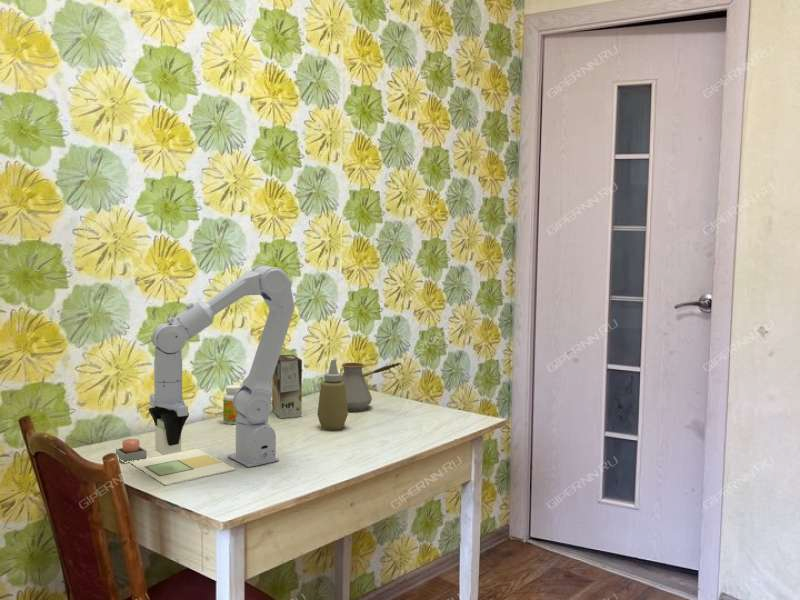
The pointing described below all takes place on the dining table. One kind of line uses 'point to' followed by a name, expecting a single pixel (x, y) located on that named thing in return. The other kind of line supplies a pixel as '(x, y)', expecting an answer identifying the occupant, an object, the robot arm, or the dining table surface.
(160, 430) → the beige boxy piece
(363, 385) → the coffee pot
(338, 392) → the squeeze bottle
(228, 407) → the supplement bottle
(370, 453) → the dining table surface
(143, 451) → the button housing
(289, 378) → the coffee box
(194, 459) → the paper board
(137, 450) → the button
